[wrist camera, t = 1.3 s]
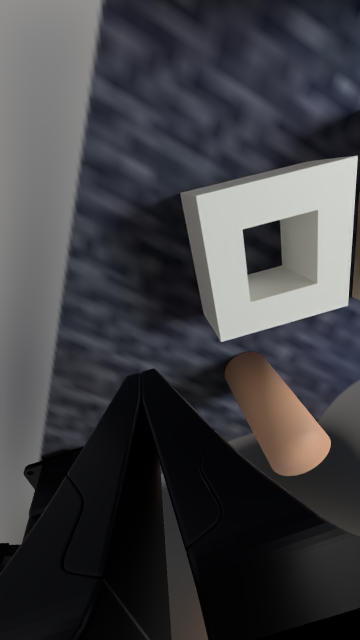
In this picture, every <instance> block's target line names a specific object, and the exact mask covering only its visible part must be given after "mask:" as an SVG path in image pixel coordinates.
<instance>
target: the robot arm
mask: <svg viewBox="0 0 360 640" xmlns="http://www.w3.org/2000/svg"><path fill="white" fill-rule="evenodd" d="M160 465H161V467H160ZM161 468H162V471H163V475H164V478H165V481H166V485H167V489H168V492H169V495H170V499H171V502H172V506H173V509H174V513H175V516H176V519H177V523H178V526H179V530H180V533H181V536H182V540H183V543H184V546H185V550H186V552H187V557H188V560H189V564H190V568H191V571H192V575H193V578H194V582H195V586H196V589H197V594H198V598H199V602H200V606H201V610H202V615H203V619H204V623H205V627H206V632H207V636H208V640H360V536H357V535H354V534H352V533H349V532H347V531H345V530H343V529H341V528H339V527H337V526H336V525H334V524H332V523H330V522H329V521H327V520H326V519H324V518H323V517H321V516H319V515H318V514H317V513H315V512H314V511H313V510H312V509H310V508H309V507H307V506H306V505H305V504H304V503H302V502H301V501H300V500H298V499H297V498H296V497H294V496H293V495H292V494H291V493H289V492H288V491H287V490H285V489H284V488H283V487H281V486H280V485H279V484H278V483H276V482H275V481H274V480H272V479H271V478H270V477H268V476H267V475H266V474H264V473H263V472H262V471H261V470H259V469H258V468H257V467H256V466H254V465H253V464H252V463H251V462H249V461H248V460H247V459H246V458H245V457H243V456H242V455H241V454H240V453H239V452H238V451H236V450H235V449H234V448H233V447H232V446H231V445H230V444H229V443H228V442H227V441H226V440H225V439H224V438H223V437H222V436H221V435H220V434H219V433H218V432H217V431H215V429H214V428H213V427H212V426H211V425H210V424H209V423H208V422H207V421H206V420H205V419H204V418H203V417H202V416H201V415H200V414H199V413H198V412H197V411H196V410H195V409H194V408H193V407H192V406H191V405H190V404H189V403H188V402H187V401H186V400H185V399H184V398H183V397H182V396H181V395H180V394H179V393H178V392H177V391H176V390H175V389H174V388H173V387H172V386H171V385H170V384H169V383H168V381H167V380H166V379H165V378H164V377H163V376H162V375H161V374H160V373H159V372H158V371H157V370H156V369H150V370H146V371H143V372H142V373H141V374H140V373H136V374H133V375H129V376H127V377H126V378H125V380H124V381H123V383H122V385H121V386H120V388H119V390H118V391H117V393H116V395H115V396H114V398H113V400H112V401H111V403H110V404H109V406H108V408H107V409H106V411H105V413H104V414H103V416H102V418H101V419H100V421H99V423H98V424H97V426H96V428H95V429H94V431H93V433H92V434H91V436H90V437H89V439H88V441H87V442H86V444H85V446H84V447H83V449H80V450H76V451H73V452H70V453H66V454H63V455H60V456H57V457H53V458H50V459H47V460H43V461H40V462H37V463H33V464H30V465H28V466H26V467H25V470H24V476H25V477H26V478H27V479H28V481H29V482H30V484H31V485H32V486H33V488H34V489H35V493H34V496H33V500H32V503H31V507H30V511H29V520H28V523H27V527H26V530H25V534H24V537H23V541H22V544H21V545H9V543H0V640H172V635H171V620H170V604H169V590H168V576H167V575H168V574H167V560H166V544H165V528H164V513H163V498H162V482H161Z"/></svg>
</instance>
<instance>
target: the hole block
mask: <svg viewBox="0 0 360 640" xmlns="http://www.w3.org/2000/svg"><path fill="white" fill-rule="evenodd" d="M357 161H358V156H350V157H341V158H332V159H323V160H314V161H307V162H303V163H299V164H295V165H291V166H287V167H283V168H279V169H275V170H271V171H267V172H263V173H259V174H255V175H251V176H247V177H243V178H239V179H235V180H231V181H227V182H223V183H219V184H215V185H211V186H206V187H202V188H198V189H194V190H190V191H186V192H182V193H180V196H181V201H182V206H183V211H184V216H185V221H186V226H187V231H188V236H189V242H190V247H191V252H192V257H193V262H194V267H195V272H196V277H197V282H198V287H199V293H200V298H201V303H202V308H203V313H204V315H205V317H206V319H207V320H208V322H209V323H210V325H211V327H212V328H213V330H214V331H215V333H216V335H217V336H218V338H219V339H220V341H221V342H223V341H227V340H230V339H234V338H237V337H240V336H244V335H247V334H251V333H254V332H258V331H261V330H265V329H268V328H272V327H275V326H279V325H282V324H286V323H289V322H293V321H296V320H300V319H303V318H307V317H310V316H314V315H317V314H321V313H324V312H328V311H331V310H335V309H338V308H341V307H345V306H348V297H349V282H350V267H351V252H352V237H353V221H354V206H355V191H356V176H357ZM277 220H280V232H281V253H282V266H278V267H274V268H271V269H267V270H263V271H260V272H256V273H252V274H249V275H247V267H246V258H245V249H244V239H243V230H242V229H246V228H250V227H254V226H258V225H262V224H265V223H269V222H273V221H277Z"/></svg>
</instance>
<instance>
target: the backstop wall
mask: <svg viewBox="0 0 360 640" xmlns="http://www.w3.org/2000/svg"><path fill="white" fill-rule="evenodd" d="M352 297H353V298H355V299H357V300H359V301H360V194H359V208H358V221H357V235H356V249H355V263H354V277H353V291H352Z"/></svg>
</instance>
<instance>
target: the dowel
mask: <svg viewBox="0 0 360 640" xmlns="http://www.w3.org/2000/svg"><path fill="white" fill-rule="evenodd" d="M225 379H226V382H227V383H228V385H229V387H230V389H231V391H232V393H233V395H234V397H235V399H236V401H237V402H238V404H239V406H240V408H241V410H242V412H243V414H244V416H245V418H246V420H247V421H248V423H249V425H250V427H251V429H252V431H253V433H254V435H255V437H256V438H257V440H258V442H259V444H260V446H261V448H262V450H263V452H264V454H265V455H266V457H267V459H268V461H269V463H270V465H271V467H272V469H273V470H274V471H275V472H276V473H278V474H280V475H283V476H294V475H299V474H302V473H305V472H307V471H309V470H311V469H312V468H314V467H316V466H317V465H318V464H319V463H321V461H323V460H324V458H325V457H326V456H327V454H328V452H329V450H330V446H331V441H330V438H329V437H328V435H327V434H326V433H325V432H324V430H323V429H322V428H321V427H320V426H319V424H318V423H317V422H316V420H315V419H314V418H313V417H312V416H311V414H310V413H309V412H308V411H307V409H306V408H305V407H304V406H303V404H302V403H301V402H300V401H299V400H298V398H297V397H296V396H295V395H294V393H293V392H292V391H291V390H290V389H289V387H288V386H287V385H286V384H285V382H284V381H283V380H282V379H281V377H280V376H279V375H278V374H277V373H276V371H275V370H274V369H273V368H272V366H271V365H270V364H269V363H268V361H267V360H266V359H265V358H264V357H263V356H262V355H261V354H259V353H257V352H244V353H241V354H239V355H237V356H235V357H234V358H233V359H232V360H231V361H230V362H229V363H228V365H227V367H226V369H225Z"/></svg>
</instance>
